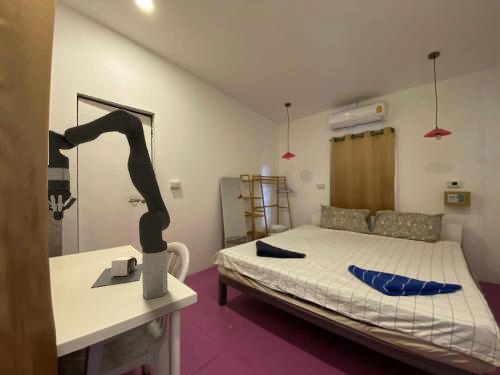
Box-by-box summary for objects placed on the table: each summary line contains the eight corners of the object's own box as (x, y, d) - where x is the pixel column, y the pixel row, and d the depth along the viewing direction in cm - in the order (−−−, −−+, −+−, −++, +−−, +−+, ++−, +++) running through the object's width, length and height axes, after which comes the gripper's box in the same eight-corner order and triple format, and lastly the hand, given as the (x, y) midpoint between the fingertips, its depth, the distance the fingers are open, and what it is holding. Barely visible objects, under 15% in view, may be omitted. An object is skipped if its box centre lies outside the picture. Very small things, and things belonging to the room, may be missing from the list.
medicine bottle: (127, 260, 98) (139, 255, 110) (111, 260, 98) (125, 255, 110) (126, 275, 97) (138, 269, 109) (110, 276, 97) (124, 269, 109)
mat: (139, 280, 95) (139, 279, 95) (91, 287, 88) (91, 287, 88) (143, 264, 116) (143, 263, 116) (105, 269, 109) (105, 268, 109)
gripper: (32, 178, 82) (32, 222, 82) (74, 179, 87) (74, 220, 87) (42, 179, 89) (43, 219, 89) (80, 179, 94) (81, 217, 94)
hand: (58, 220), depth 88 cm, fingers closed
